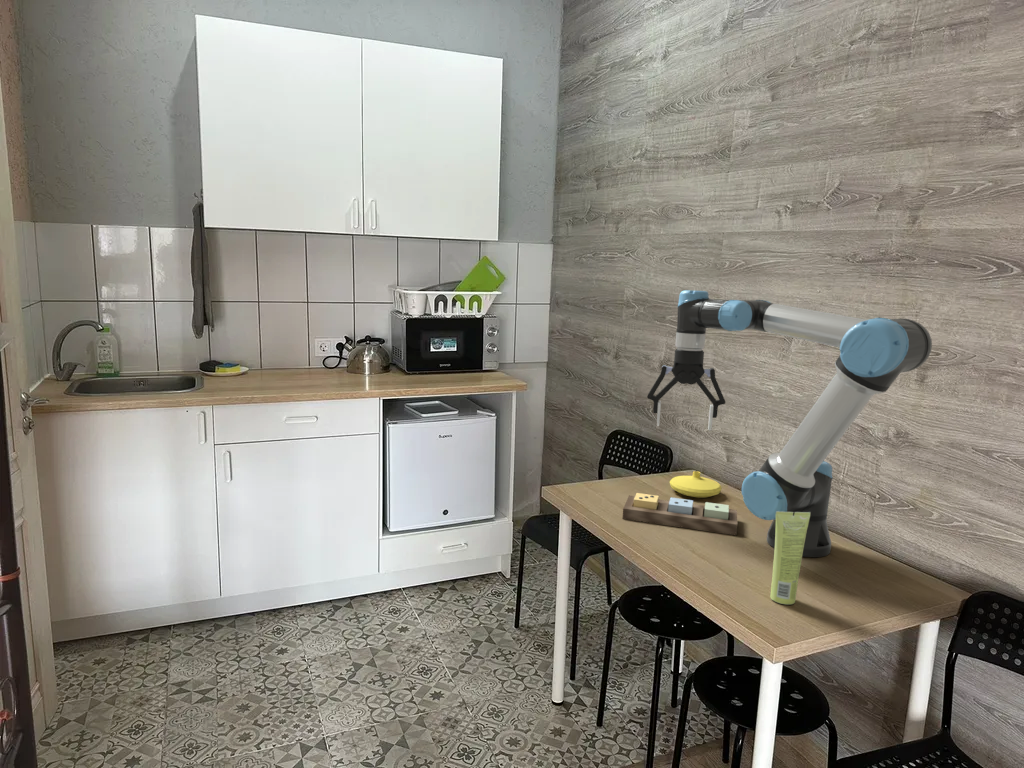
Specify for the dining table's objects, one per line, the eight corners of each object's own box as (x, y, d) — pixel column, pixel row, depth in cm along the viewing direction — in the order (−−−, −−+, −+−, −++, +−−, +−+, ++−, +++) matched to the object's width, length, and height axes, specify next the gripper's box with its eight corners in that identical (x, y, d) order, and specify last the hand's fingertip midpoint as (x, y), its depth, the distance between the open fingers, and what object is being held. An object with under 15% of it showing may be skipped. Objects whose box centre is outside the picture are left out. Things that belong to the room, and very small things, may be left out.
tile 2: (692, 510, 192) (693, 499, 192) (691, 517, 186) (692, 506, 186) (669, 507, 194) (670, 496, 194) (667, 514, 188) (668, 503, 188)
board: (735, 520, 192) (736, 510, 192) (736, 535, 181) (737, 524, 180) (628, 505, 201) (629, 495, 200) (622, 518, 189) (623, 508, 189)
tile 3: (657, 505, 195) (658, 495, 194) (655, 512, 189) (656, 501, 189) (635, 502, 197) (636, 492, 196) (633, 509, 191) (633, 498, 190)
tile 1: (727, 515, 190) (728, 504, 189) (727, 523, 184) (728, 511, 183) (704, 512, 191) (705, 501, 191) (703, 519, 186) (704, 508, 185)
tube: (776, 591, 149) (786, 505, 146) (800, 599, 146) (810, 511, 142) (765, 599, 145) (775, 511, 142) (789, 608, 141) (800, 518, 138)
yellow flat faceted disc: (702, 505, 203) (704, 483, 202) (658, 491, 215) (660, 470, 214) (730, 495, 214) (732, 474, 213) (687, 483, 225) (689, 462, 224)
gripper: (737, 350, 183) (730, 428, 186) (642, 345, 188) (637, 420, 191) (740, 353, 175) (733, 434, 179) (641, 347, 181) (636, 426, 184)
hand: (683, 427), depth 185 cm, fingers open, 13 cm apart
